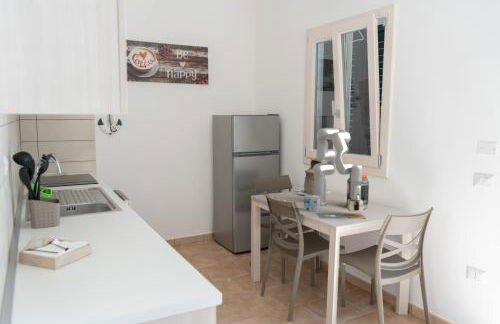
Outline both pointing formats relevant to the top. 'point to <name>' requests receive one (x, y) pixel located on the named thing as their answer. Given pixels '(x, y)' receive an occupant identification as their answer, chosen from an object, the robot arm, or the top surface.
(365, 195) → the supplement tub
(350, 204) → the birch block
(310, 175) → the burlap sack
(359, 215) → the walnut pad
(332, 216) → the mat
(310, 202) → the light bulb box
